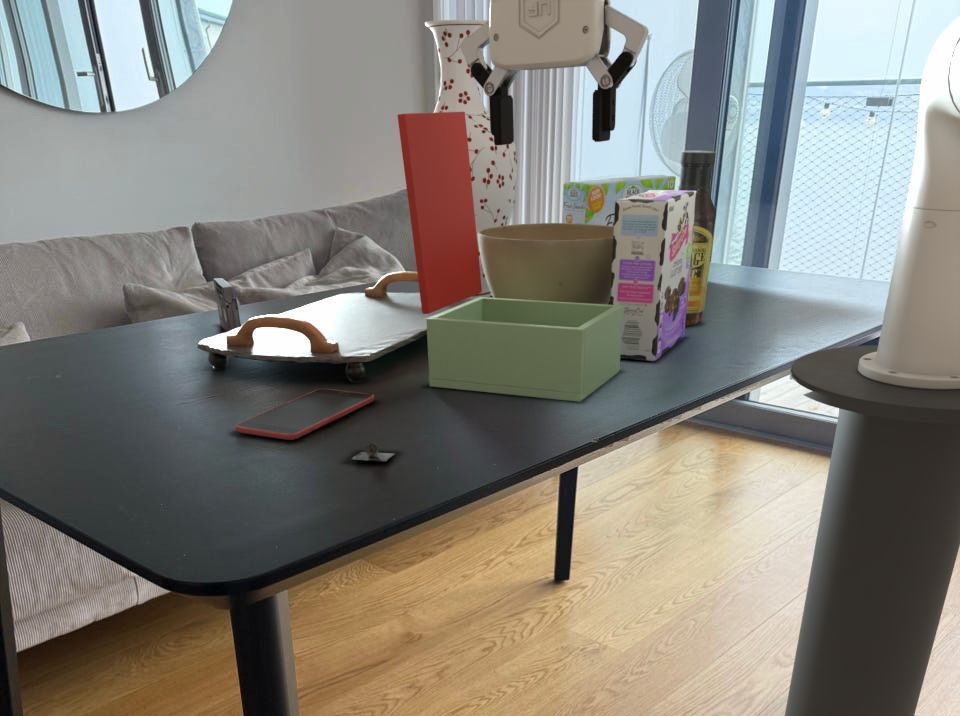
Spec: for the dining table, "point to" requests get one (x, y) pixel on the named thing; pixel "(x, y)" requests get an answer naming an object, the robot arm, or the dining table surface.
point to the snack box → (606, 196)
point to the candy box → (652, 269)
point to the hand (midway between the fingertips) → (551, 142)
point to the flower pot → (548, 261)
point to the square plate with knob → (372, 454)
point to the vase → (475, 132)
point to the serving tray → (330, 330)
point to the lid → (440, 207)
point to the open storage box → (525, 347)
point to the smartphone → (304, 414)
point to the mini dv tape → (226, 304)
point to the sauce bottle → (698, 227)
